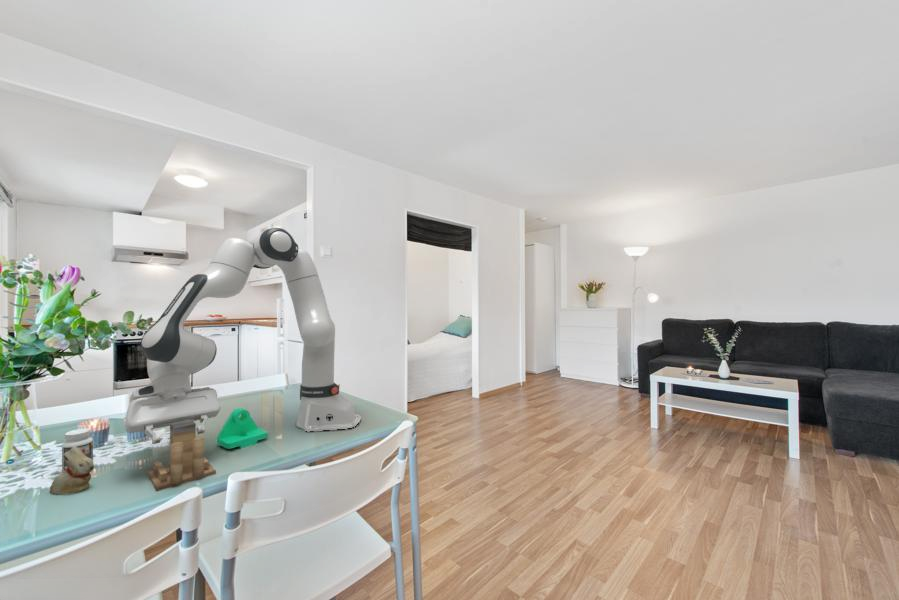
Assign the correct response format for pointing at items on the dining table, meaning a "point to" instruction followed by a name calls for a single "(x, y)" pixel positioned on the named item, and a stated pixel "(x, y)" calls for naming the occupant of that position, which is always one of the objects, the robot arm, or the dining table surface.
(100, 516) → the dining table surface
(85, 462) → the chocolate bunny
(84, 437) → the pill bottle
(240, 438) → the camera mount
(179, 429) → the brown tall rectangular block
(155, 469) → the wooden twin towers
